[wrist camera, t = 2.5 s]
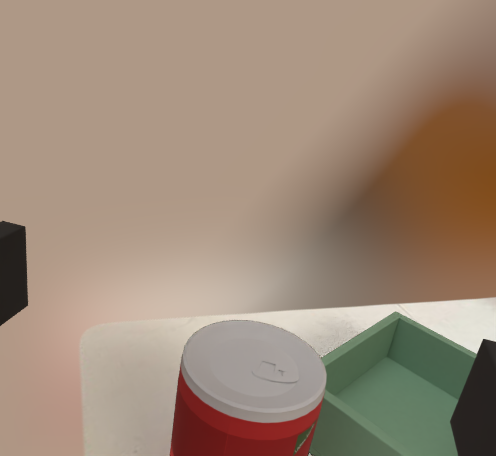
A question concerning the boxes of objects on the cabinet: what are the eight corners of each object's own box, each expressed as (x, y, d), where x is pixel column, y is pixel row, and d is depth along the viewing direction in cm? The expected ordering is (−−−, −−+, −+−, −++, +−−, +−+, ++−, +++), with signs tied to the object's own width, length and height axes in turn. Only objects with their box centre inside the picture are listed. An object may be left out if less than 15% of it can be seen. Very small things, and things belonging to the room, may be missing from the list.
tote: (280, 428, 35) (292, 375, 34) (381, 354, 46) (395, 310, 44) (489, 604, 26) (523, 543, 24) (555, 459, 37) (582, 409, 35)
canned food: (294, 572, 26) (338, 422, 22) (151, 554, 26) (169, 399, 22) (287, 457, 33) (319, 328, 29) (175, 442, 33) (191, 310, 29)
